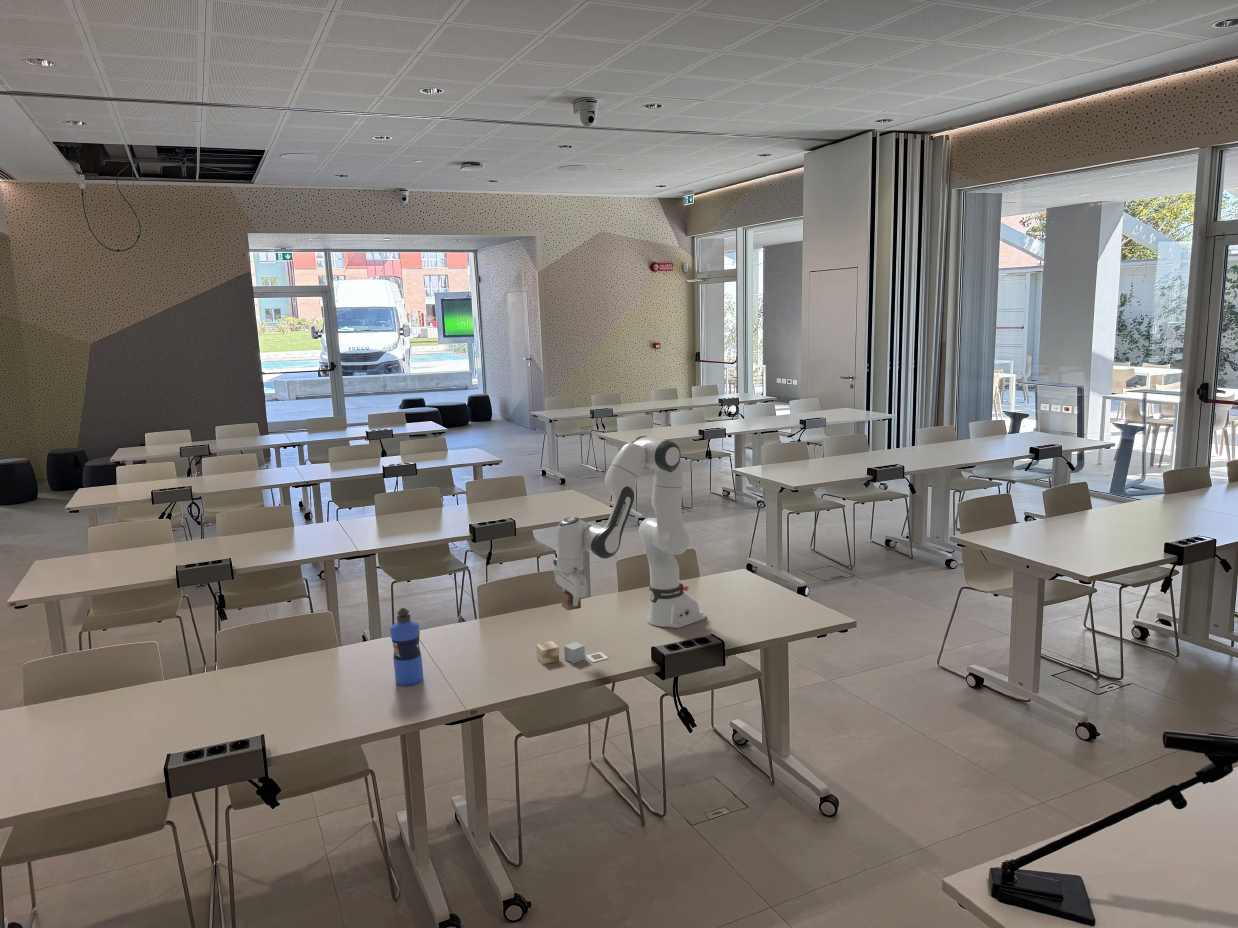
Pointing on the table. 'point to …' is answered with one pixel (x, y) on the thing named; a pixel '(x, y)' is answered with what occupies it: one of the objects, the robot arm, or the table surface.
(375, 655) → the table surface
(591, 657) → the swatch
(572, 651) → the grey block
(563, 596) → the walnut block
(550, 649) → the maple base
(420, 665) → the water bottle
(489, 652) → the table surface
